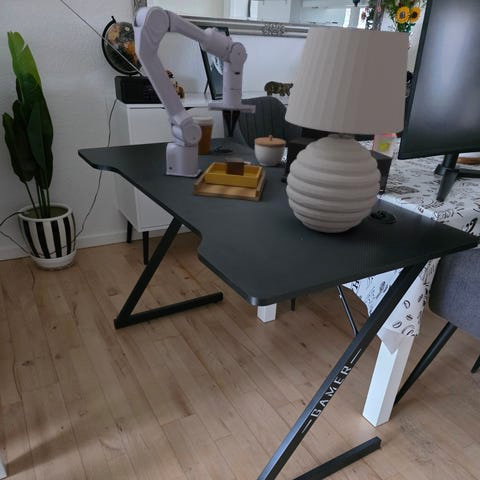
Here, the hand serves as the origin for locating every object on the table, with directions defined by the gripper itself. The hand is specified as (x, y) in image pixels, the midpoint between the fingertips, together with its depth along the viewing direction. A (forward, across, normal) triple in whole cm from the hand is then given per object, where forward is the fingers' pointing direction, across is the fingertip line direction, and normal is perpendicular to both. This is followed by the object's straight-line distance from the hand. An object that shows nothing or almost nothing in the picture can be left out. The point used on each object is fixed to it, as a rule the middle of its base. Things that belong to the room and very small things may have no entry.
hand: (230, 136), depth 142 cm
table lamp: (+11, +26, -46) cm, 53 cm away
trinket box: (+11, +13, +11) cm, 20 cm away
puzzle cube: (+11, +60, +38) cm, 72 cm away
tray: (+9, +2, -13) cm, 16 cm away
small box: (+11, +43, -12) cm, 46 cm away
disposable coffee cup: (+11, -12, +22) cm, 27 cm away
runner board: (+10, +2, -19) cm, 21 cm away
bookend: (+11, +27, -2) cm, 29 cm away
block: (+8, +2, -15) cm, 18 cm away
